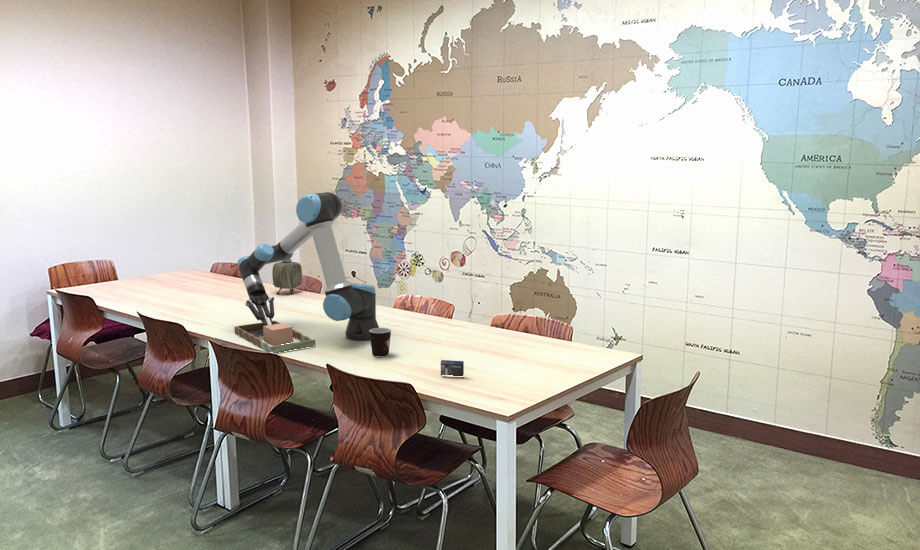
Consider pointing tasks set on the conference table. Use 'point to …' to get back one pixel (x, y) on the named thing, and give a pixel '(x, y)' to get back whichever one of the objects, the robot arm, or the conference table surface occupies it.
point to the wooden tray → (249, 335)
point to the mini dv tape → (452, 367)
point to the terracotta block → (278, 334)
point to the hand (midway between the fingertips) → (271, 331)
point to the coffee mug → (380, 341)
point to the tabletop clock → (287, 275)
